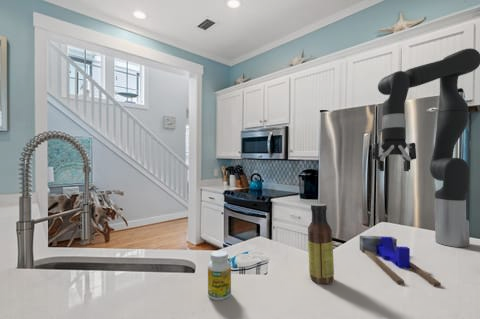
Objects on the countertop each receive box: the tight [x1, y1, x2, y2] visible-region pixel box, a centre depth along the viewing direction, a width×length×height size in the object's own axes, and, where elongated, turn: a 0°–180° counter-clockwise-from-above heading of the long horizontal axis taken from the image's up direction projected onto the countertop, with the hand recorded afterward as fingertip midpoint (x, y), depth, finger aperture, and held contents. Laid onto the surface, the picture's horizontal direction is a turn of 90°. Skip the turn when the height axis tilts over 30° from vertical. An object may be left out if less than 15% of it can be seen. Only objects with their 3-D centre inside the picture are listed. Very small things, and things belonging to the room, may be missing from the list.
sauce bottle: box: [307, 202, 335, 285], centre depth 66 cm, size 6×6×20 cm
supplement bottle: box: [207, 250, 232, 301], centre depth 58 cm, size 5×5×10 cm
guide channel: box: [359, 235, 442, 288], centre depth 76 cm, size 11×26×5 cm, turn 173°
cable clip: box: [375, 236, 411, 269], centre depth 79 cm, size 12×4×6 cm, turn 173°
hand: (393, 171), depth 92 cm, fingers open, 8 cm apart
